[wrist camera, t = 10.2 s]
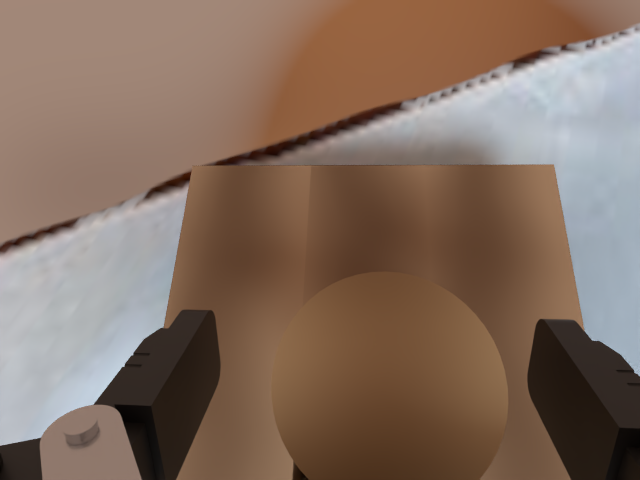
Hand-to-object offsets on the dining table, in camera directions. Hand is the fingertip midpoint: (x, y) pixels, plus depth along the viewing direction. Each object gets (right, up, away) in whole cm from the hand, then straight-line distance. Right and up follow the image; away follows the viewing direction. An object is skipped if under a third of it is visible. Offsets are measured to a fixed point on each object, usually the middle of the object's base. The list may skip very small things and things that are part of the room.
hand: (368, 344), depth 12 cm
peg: (+1, -4, +6) cm, 8 cm away
